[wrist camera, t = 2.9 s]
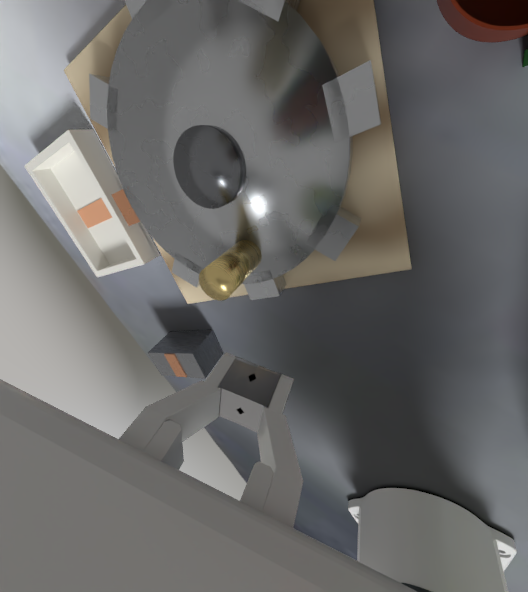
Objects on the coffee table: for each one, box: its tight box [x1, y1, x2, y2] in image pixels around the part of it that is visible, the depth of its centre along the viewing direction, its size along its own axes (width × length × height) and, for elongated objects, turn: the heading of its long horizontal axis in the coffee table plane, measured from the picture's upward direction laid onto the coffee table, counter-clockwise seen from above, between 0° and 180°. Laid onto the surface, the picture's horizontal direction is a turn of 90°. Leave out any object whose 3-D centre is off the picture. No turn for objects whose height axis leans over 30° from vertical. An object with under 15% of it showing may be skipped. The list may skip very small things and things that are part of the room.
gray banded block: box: [148, 330, 223, 378], centre depth 33 cm, size 4×7×4 cm, turn 109°
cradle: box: [25, 129, 160, 277], centre depth 28 cm, size 12×8×2 cm
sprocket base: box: [64, 0, 412, 304], centre depth 21 cm, size 22×22×1 cm
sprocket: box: [89, 0, 381, 300], centre depth 17 cm, size 21×21×7 cm
